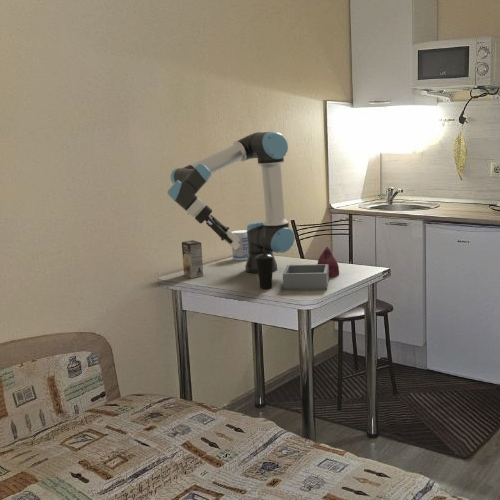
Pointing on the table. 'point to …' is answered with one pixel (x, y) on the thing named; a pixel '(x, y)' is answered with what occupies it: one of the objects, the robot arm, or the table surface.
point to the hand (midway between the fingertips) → (237, 244)
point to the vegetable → (329, 262)
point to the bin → (306, 277)
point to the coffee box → (192, 258)
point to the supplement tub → (241, 246)
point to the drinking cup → (265, 269)
